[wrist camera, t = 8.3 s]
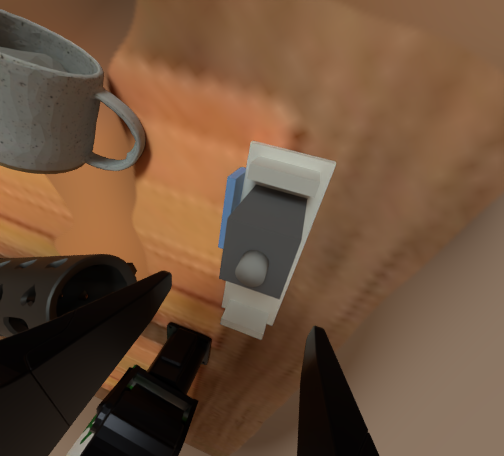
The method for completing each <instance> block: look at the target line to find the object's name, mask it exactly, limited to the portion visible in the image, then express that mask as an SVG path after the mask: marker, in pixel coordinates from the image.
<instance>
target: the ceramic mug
mask: <svg viewBox="0 0 504 456" xmlns="http://www.w3.org/2000/svg"><path fill="white" fill-rule="evenodd" d="M103 77H104V72H103V69H102V67H101V66H100V64H99V63H98V62H97V61H96V60H95V59H94V58H93V57H92V56H90V55H89V54H88V53H87V52H86V51H84V50H83V49H81V48H80V47H78V46H77V45H75V44H74V43H72V42H71V41H69V40H67V39H65V38H64V37H62V36H60V35H58V34H56V33H54V32H52V31H50V30H48V29H46V28H45V27H43V26H40V25H38V24H36V23H34V22H31V21H29V20H27V19H24V18H23V17H20V16H17V15H14V14H11V13H8V12H6V11H4V10H1V9H0V165H1V166H4V167H7V168H10V169H13V170H18V171H22V172H28V173H35V174H58V173H64V172H68V171H72V170H75V169H78V168H79V167H81V166H82V165H84V164H85V163H87V164H89V165H91V166H94V167H96V168H100V169H103V170H111V171H120V170H124V169H126V168H129V167H130V166H132V165H134V164H135V163H136V161H137V160H138V159H139V157H140V156H141V155H142V152H143V150H144V147H145V140H146V139H145V132H144V129H143V127H142V125H141V123H140V121H139V119H138V118H137V116H136V115H135V113H134V112H133V111H132V110H131V109H130V108H129V107H128V106H127V105H125V104H124V103H123V102H122V101H121V100H119V99H118V98H117V97H116V96H114V95H113V94H111V93H110V92H108V91H107V90H105V89H104V88H103ZM100 101H101V102H103V103H104V104H105V105H106V106H107V107H109V108H110V109H112V110H113V111H114V112H115V113H116V114H117V115H118V116H120V117H121V118H122V119H123V120H124V122H125V123H126V124H127V126H128V127H129V129H130V131H131V133H132V135H133V136H134V138H135V141H136V142H135V145H134V147H133V149H132V150H131V152H129V153H127V157H126V159H124V160H115V159H108V158H106V157H102V156H100V155H97V154H95V153H93V152H92V150H93V144H94V139H95V130H96V122H97V117H98V112H99V106H100Z"/></svg>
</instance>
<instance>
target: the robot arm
mask: <svg viewBox="0 0 504 456" xmlns="http://www.w3.org/2000/svg"><path fill="white" fill-rule="evenodd" d="M171 286H172V275H171V273H170V272H167V271H160V272H158V273H155V274H153V275H151V276H149V277H147V278H144V279H142V280H140V281H138V282H135V283H133V284H131V285H129V286H127V287H124V288H122V289H120V290H118V291H115V292H113V293H111V294H109V295H107V296H104V297H102V298H100V299H98V300H95V301H93V302H91V303H89V304H87V305H84V306H82V307H80V308H78V309H77V310H73V311H71V312H69V313H66V314H64V315H62V316H60V317H57V318H55V319H53V320H50V321H48V322H46V323H43V324H41V325H38V326H35V327H33V328H30V329H28V330H25V331H23V332H20V333H17V334H15V335H12V336H9V337H7V338H4V339H1V340H0V456H48V455H49V454H50V453H51V451H52V450H53V449H54V447H55V446H56V445H57V443H58V442H59V441H60V440H61V438H62V437H63V435H64V434H65V433H66V432H67V430H68V429H69V428H70V426H71V425H72V423H73V422H74V421H75V420H76V418H77V417H78V415H79V414H80V413H81V412H82V410H83V409H84V408H85V407H86V405H87V404H88V403H89V401H90V400H91V399H92V397H93V396H94V395H95V393H96V392H97V391H98V390H99V388H100V387H101V386H102V384H103V383H104V382H105V380H106V379H107V378H108V376H109V375H110V374H111V373H112V371H113V370H114V369H115V367H116V366H117V365H118V363H119V362H120V361H121V359H122V358H123V357H124V355H125V354H126V353H127V352H128V350H129V349H130V348H131V346H132V345H133V344H134V342H135V341H136V340H137V338H138V337H139V336H140V335H141V333H142V332H143V331H144V329H145V328H146V327H147V325H148V324H149V323H150V321H151V320H152V318H153V317H154V315H155V314H156V312H157V311H158V309H159V307H160V306H161V304H162V302H163V301H164V299H165V298H166V296H167V294H168V293H169V291H170V289H171ZM210 346H211V339H210V338H209V337H206V336H204V335H201V334H199V333H196V332H194V331H191V330H189V329H186V328H184V327H181V326H179V325H176V324H174V323H171V322H170V323H169V324H168V325H167V341H166V343H165V344H164V346H163V348H162V349H161V351H160V352H159V354H158V355H157V357H156V358H155V360H154V361H153V363H152V364H151V366H150V367H149V369H148V370H147V371H145V370H143V369H142V368H140V366H138V365H136V366H135V368H131V367H129V369H128V370H127V371H126V373H125V374H124V375H123V377H122V378H121V379H120V381H119V382H118V383H117V384H116V386H115V387H114V388H113V389H112V390H111V391H110V393H109V394H108V395H107V396H106V397H105V398H104V399H103V401H102V402H101V403H100V404H99V406H98V407H97V416H96V418H95V420H94V424H93V425H92V427H91V429H90V432H92V433H94V435H93V437H92V438H91V440H90V441H89V443H88V444H87V446H86V447H85V449H84V450H83V452H82V453H81V455H80V456H178V455H179V453H180V451H181V448H182V446H183V443H184V441H185V438H186V435H187V432H188V429H189V426H190V423H191V421H192V418H193V415H194V412H195V409H196V406H197V403H198V400H196V399H192V398H191V397H189V396H187V393H188V391H189V388H190V386H191V384H192V382H193V380H194V378H195V376H196V373H197V371H198V369H199V367H200V365H201V364H204V365H207V363H208V358H209V352H210ZM130 386H133V388H132V389H130ZM297 456H379V454H378V451H377V449H376V447H375V445H374V443H373V440H372V438H371V436H370V434H369V433H368V429H367V427H366V424H365V422H364V420H363V417H362V415H361V413H360V410H359V408H358V406H357V404H356V401H355V399H354V397H353V394H352V392H351V390H350V387H349V385H348V383H347V381H346V378H345V376H344V374H343V371H342V369H341V367H340V364H339V362H338V360H337V358H336V355H335V353H334V351H333V348H332V346H331V344H330V342H329V339H328V337H327V335H326V332H325V330H324V329H323V328H321V327H318V326H313V328H312V329H311V331H310V333H309V335H308V337H307V340H306V346H305V352H304V359H303V366H302V372H301V381H300V402H299V424H298V448H297Z"/></svg>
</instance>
